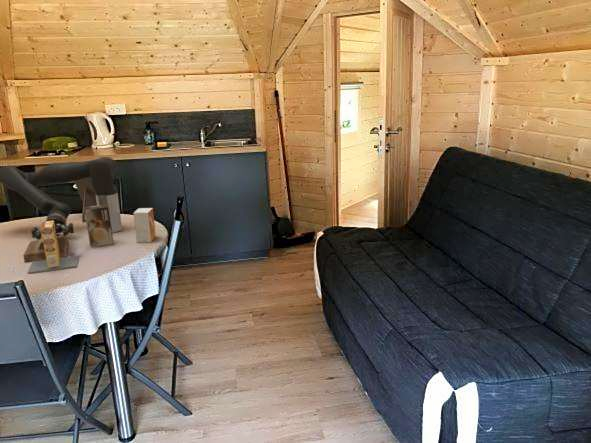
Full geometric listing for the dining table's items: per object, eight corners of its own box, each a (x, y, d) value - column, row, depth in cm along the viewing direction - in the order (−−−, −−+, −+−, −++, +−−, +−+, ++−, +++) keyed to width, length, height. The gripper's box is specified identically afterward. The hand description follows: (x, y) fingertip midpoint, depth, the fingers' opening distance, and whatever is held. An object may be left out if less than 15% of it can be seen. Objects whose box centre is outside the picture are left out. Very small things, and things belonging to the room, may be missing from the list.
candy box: (60, 266, 174) (53, 226, 170) (47, 268, 172) (40, 227, 168) (61, 258, 182) (54, 220, 178) (48, 260, 180) (41, 221, 176)
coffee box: (112, 240, 205) (107, 203, 201) (114, 244, 200) (109, 206, 196) (89, 243, 201) (83, 206, 197) (90, 247, 196) (84, 209, 191)
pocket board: (68, 243, 202) (67, 236, 201) (65, 257, 185) (64, 249, 185) (31, 248, 197) (30, 241, 196) (24, 262, 181) (23, 254, 180)
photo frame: (95, 211, 254) (87, 164, 247) (116, 217, 241) (109, 168, 233) (67, 217, 244) (58, 168, 237) (87, 224, 230) (79, 173, 223)
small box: (151, 242, 201) (148, 212, 197) (136, 242, 201) (132, 212, 197) (156, 236, 209) (153, 207, 205) (141, 236, 209) (138, 208, 205)
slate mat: (78, 256, 185) (78, 255, 185) (77, 267, 175) (76, 265, 174) (32, 262, 180) (32, 261, 180) (27, 274, 169) (27, 272, 169)
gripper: (33, 217, 187) (28, 228, 172) (73, 213, 192) (71, 223, 177) (37, 235, 189) (31, 248, 174) (76, 231, 194) (74, 242, 179)
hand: (51, 235), depth 176 cm, fingers open, 8 cm apart
